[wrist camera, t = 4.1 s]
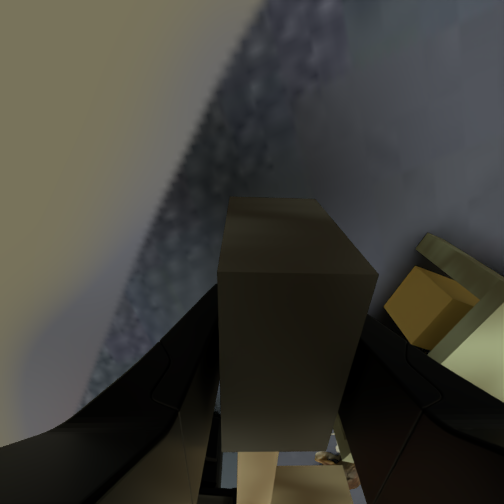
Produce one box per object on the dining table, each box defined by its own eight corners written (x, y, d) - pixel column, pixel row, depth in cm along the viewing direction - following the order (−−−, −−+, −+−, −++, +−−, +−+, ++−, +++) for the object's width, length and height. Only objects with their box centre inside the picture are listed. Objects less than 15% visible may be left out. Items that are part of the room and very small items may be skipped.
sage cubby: (405, 400, 30) (451, 482, 23) (318, 377, 28) (342, 460, 21) (531, 276, 23) (652, 344, 16) (427, 232, 20) (516, 290, 14)
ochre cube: (423, 319, 25) (458, 359, 21) (383, 305, 24) (411, 344, 20) (457, 281, 23) (503, 316, 19) (414, 264, 22) (452, 298, 18)
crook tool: (229, 481, 18) (225, 598, 14) (229, 196, 9) (217, 271, 5) (336, 480, 19) (365, 593, 14) (438, 202, 10) (606, 278, 5)
